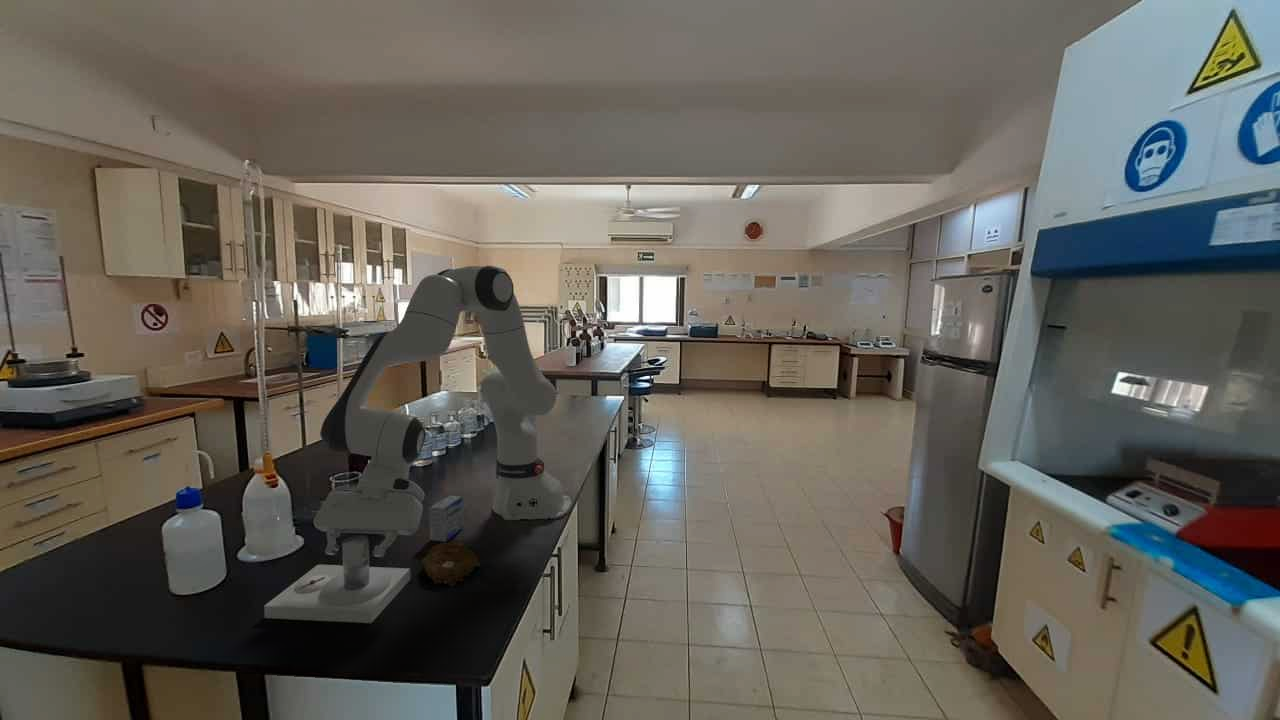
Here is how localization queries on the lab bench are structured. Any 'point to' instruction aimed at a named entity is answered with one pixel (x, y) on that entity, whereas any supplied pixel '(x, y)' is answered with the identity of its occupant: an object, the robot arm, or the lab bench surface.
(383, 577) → the white shallow tray
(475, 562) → the decorative rock
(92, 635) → the lab bench surface
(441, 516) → the medicine box
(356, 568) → the cylinder
